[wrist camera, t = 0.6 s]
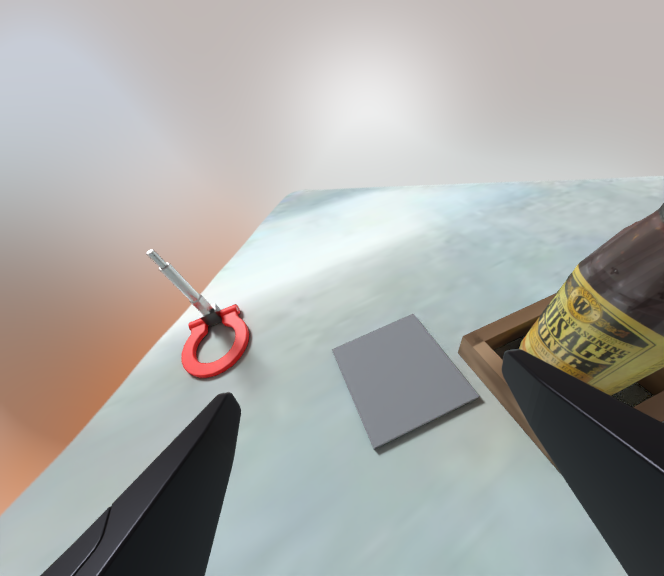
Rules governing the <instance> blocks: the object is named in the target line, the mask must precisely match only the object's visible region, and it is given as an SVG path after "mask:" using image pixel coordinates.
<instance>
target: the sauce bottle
mask: <svg viewBox="0 0 664 576" xmlns="http://www.w3.org/2000/svg"><path fill="white" fill-rule="evenodd" d="M519 349H521V350H524V351H526V352H528V353H529V354H531V355H533V356H535V357H537V358H539V359H541V360H543V361H545V362H547V363H549V364H551V365H553V366H554V367H556V368H558V369H560V370H562V371H564V372H566V373H568V374H570V375H572V376H574V377H576V378H578V379H579V380H581V381H583V382H585V383H587V384H589V385H591V386H593V387H595V388H597V389H599V390H601V391H603V392H604V393H606V394H608V395H610V396H612V395H614V394H615V393H617V392H619V391H621V390H623V389H625V388H626V387H628V386H630V385H632V384H634V383H635V382H637V381H639V380H641V379H642V378H644V377H646V376H648V375H650V374H652V373H654V372H655V371H657V370H659V369H661V368H663V367H664V203H663V204H662V206H661V207H660V208H659V209H658V210H657V211H655V212H654V213H652V214H651V215H649V216H647V217H646V218H644V219H642V220H640V221H638V222H635V223H634V224H632V225H630V226H628V227H626V228H624V229H623V230H621V231H620V232H619V233H618V234H616V235H615V236H614V237H612V238H611V239H610V240H608V241H607V242H606V243H605V244H603V245H602V246H601V247H599V248H598V249H597V250H595V251H594V252H593V253H592V254H590V255H589V256H588V257H586V258H585V259H584V260H582V261H581V262H580V263H579V264H578V265H577V267H576V268H575V269H574V271H573V272H572V273H571V274H570V276H569V277H568V279H567V280H566V282H565V283H564V284H563V286H562V287H561V288H560V289H559V290H558V292H557V293H556V295H555V296H554V298H553V299H552V301H551V302H550V303H549V304H548V305H547V307H546V308H545V310H544V311H543V312H542V314H541V315H540V317H539V318H538V319H537V321H536V322H535V323H534V325H533V326H532V328H531V329H530V331H529V332H528V333H527V335H526V336H525V337H524V339H523V340H522V341H521V344H520V348H519Z"/></svg>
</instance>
